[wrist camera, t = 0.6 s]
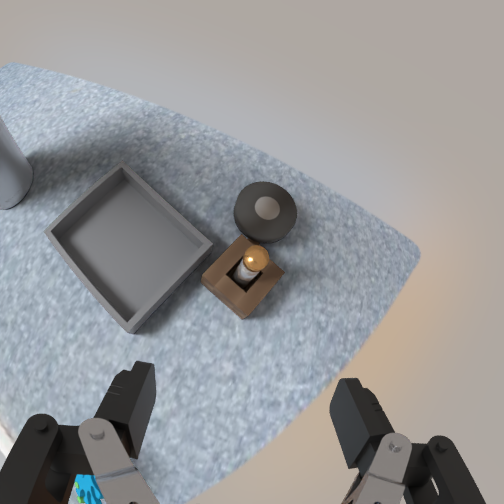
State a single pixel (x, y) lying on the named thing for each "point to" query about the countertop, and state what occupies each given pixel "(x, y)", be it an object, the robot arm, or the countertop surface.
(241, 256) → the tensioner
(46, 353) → the countertop surface
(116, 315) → the tray
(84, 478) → the gear
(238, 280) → the lock pin
